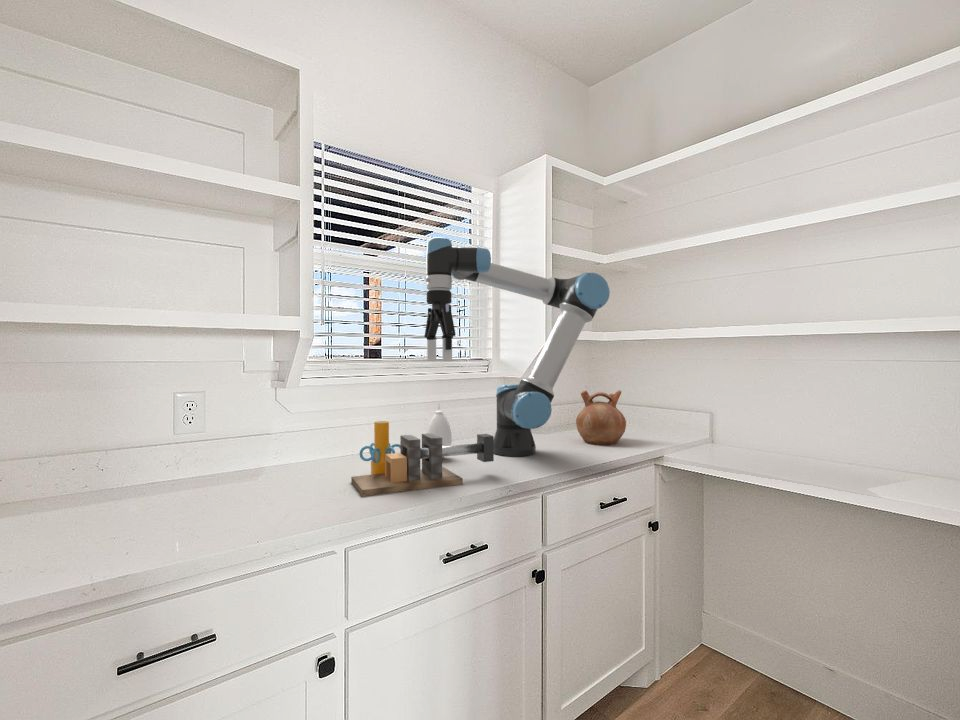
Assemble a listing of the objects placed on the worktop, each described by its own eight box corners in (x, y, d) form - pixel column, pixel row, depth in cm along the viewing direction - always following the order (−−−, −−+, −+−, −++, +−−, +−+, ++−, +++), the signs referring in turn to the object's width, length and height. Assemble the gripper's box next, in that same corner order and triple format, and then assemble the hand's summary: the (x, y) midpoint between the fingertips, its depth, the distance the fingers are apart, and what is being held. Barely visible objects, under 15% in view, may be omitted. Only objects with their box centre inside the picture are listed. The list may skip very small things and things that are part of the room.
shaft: (486, 458, 144) (486, 433, 144) (493, 461, 140) (493, 436, 140) (410, 465, 135) (410, 439, 135) (416, 469, 131) (415, 442, 131)
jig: (443, 472, 144) (443, 430, 144) (462, 484, 131) (462, 438, 131) (351, 482, 133) (351, 437, 133) (362, 496, 120) (362, 446, 120)
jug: (624, 439, 198) (624, 388, 198) (627, 447, 181) (627, 392, 180) (577, 437, 202) (577, 387, 202) (575, 445, 185) (575, 391, 184)
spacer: (400, 475, 135) (399, 452, 135) (407, 480, 129) (406, 457, 129) (385, 476, 133) (385, 454, 133) (391, 482, 127) (391, 458, 127)
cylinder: (391, 482, 133) (391, 425, 133) (354, 480, 135) (354, 424, 135) (407, 471, 145) (407, 419, 145) (373, 469, 147) (373, 418, 147)
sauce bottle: (442, 462, 157) (442, 404, 157) (422, 459, 161) (422, 403, 161) (455, 457, 164) (455, 402, 164) (436, 455, 168) (436, 401, 168)
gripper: (414, 294, 162) (414, 360, 162) (441, 284, 139) (442, 361, 140) (436, 295, 165) (436, 360, 165) (466, 286, 142) (466, 361, 143)
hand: (439, 361), depth 152 cm, fingers open, 13 cm apart
